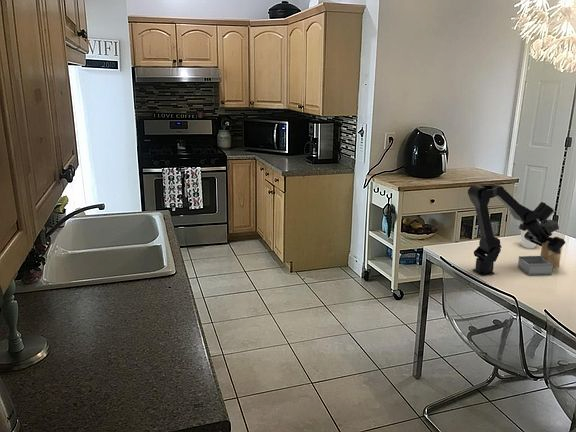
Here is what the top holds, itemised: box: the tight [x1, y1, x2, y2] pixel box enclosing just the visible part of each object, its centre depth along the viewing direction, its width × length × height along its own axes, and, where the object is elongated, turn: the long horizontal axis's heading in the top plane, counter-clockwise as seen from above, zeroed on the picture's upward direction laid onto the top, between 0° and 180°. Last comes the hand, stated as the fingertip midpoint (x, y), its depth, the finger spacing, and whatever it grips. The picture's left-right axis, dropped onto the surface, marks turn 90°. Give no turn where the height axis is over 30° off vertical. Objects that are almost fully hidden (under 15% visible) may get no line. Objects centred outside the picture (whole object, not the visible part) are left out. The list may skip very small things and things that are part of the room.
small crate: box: [540, 236, 563, 268], centre depth 213 cm, size 6×6×12 cm
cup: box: [520, 229, 537, 249], centre depth 237 cm, size 10×10×11 cm
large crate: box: [517, 255, 554, 277], centre depth 207 cm, size 10×10×5 cm
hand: (553, 250), depth 213 cm, fingers open, 7 cm apart
